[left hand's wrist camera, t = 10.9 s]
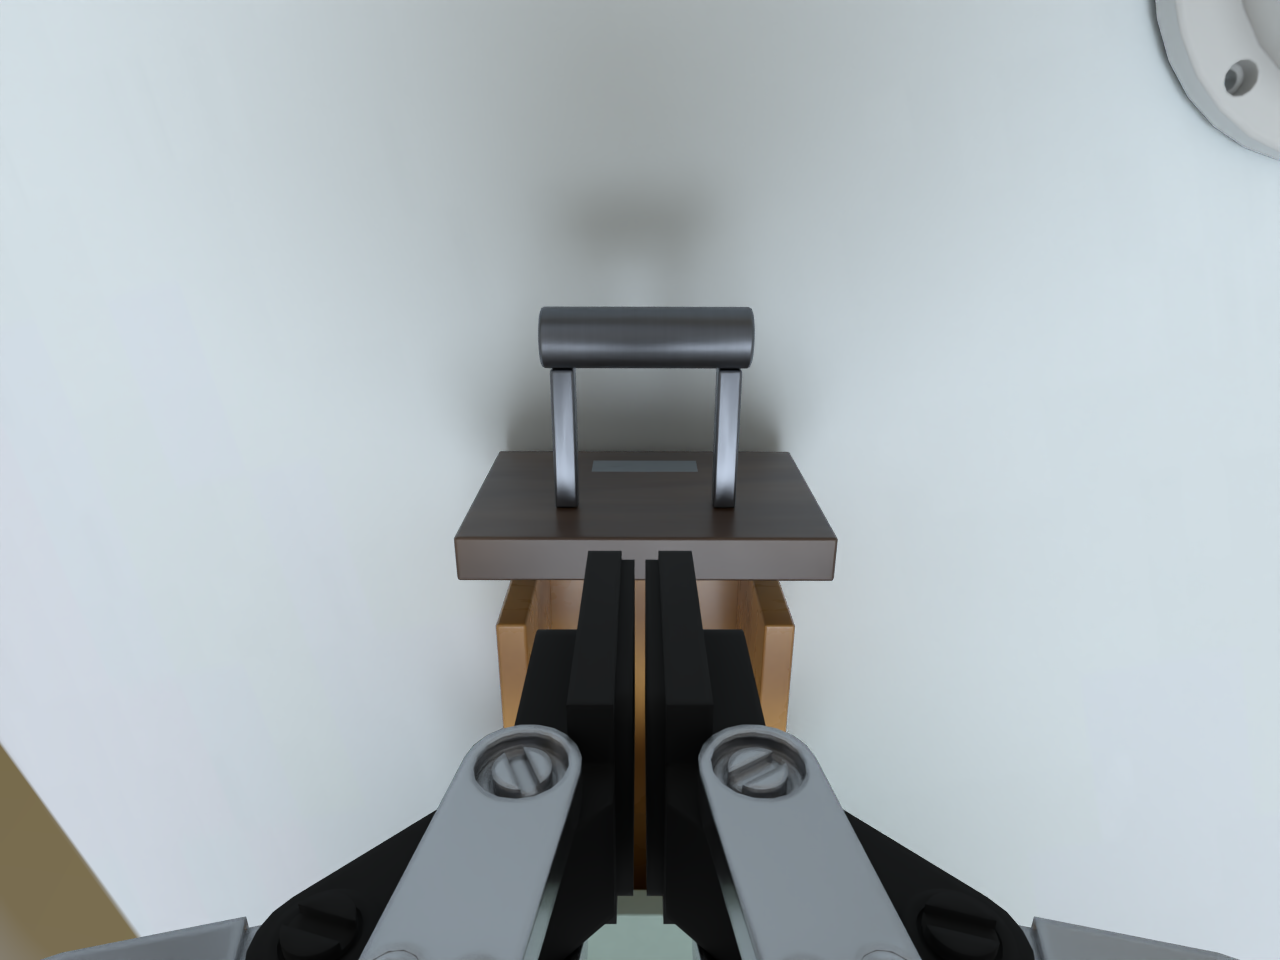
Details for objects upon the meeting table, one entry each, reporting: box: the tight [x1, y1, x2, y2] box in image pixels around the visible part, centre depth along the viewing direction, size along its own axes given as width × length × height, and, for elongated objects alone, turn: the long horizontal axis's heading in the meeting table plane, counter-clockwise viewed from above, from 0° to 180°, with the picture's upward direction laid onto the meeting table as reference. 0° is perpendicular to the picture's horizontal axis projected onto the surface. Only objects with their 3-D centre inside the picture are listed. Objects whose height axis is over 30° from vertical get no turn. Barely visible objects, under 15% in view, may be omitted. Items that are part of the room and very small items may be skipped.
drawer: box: [454, 307, 838, 890], centre depth 24 cm, size 24×9×7 cm, turn 0°
